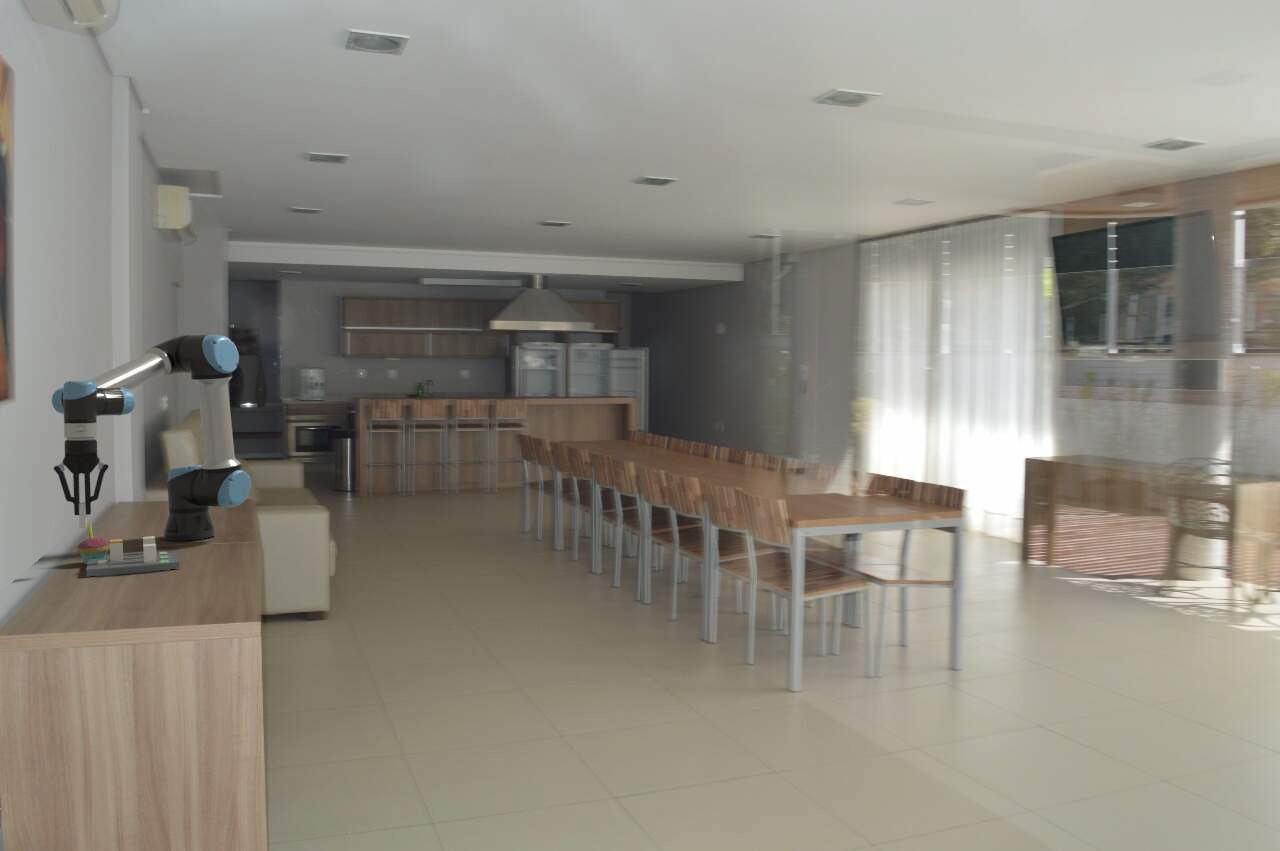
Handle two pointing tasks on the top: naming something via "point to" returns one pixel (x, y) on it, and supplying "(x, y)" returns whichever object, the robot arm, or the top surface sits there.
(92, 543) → the cupcake
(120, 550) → the breaker handle
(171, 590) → the top surface
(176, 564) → the panel
